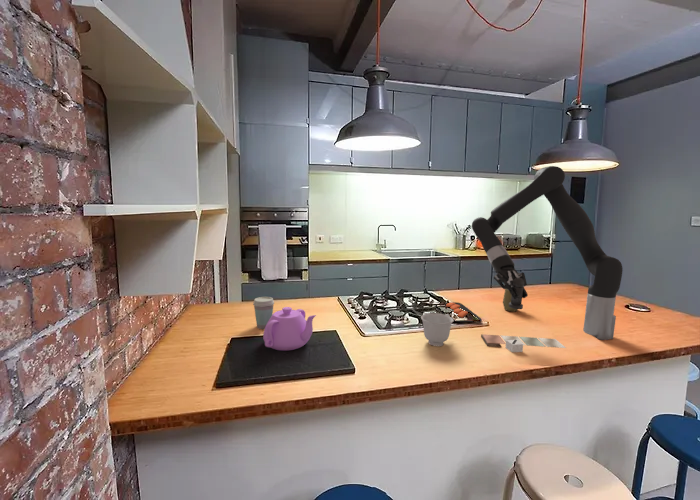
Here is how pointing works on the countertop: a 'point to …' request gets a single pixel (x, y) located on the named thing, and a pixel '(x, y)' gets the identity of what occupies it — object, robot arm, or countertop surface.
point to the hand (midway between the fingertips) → (521, 297)
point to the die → (514, 346)
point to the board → (530, 341)
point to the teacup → (436, 327)
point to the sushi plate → (460, 310)
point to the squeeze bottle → (507, 301)
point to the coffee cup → (263, 310)
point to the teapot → (288, 329)
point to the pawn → (518, 286)
